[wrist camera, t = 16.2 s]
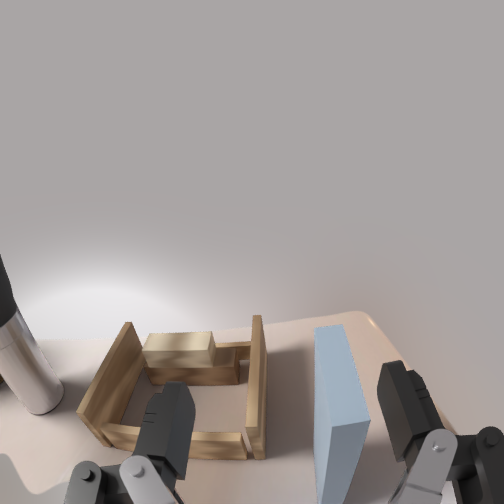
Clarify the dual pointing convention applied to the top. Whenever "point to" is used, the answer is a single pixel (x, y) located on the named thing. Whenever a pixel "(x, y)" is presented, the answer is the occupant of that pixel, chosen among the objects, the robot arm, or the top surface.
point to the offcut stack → (189, 360)
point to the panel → (336, 415)
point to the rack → (202, 443)
